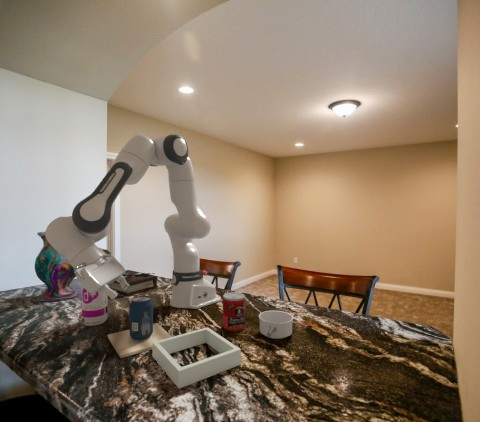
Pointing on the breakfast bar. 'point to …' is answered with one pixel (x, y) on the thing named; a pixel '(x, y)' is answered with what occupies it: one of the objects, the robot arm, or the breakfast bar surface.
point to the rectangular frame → (201, 368)
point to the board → (130, 347)
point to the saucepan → (276, 324)
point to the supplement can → (93, 308)
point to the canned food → (233, 311)
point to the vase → (54, 273)
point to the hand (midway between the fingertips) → (122, 292)
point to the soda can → (141, 318)
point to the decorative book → (135, 283)
